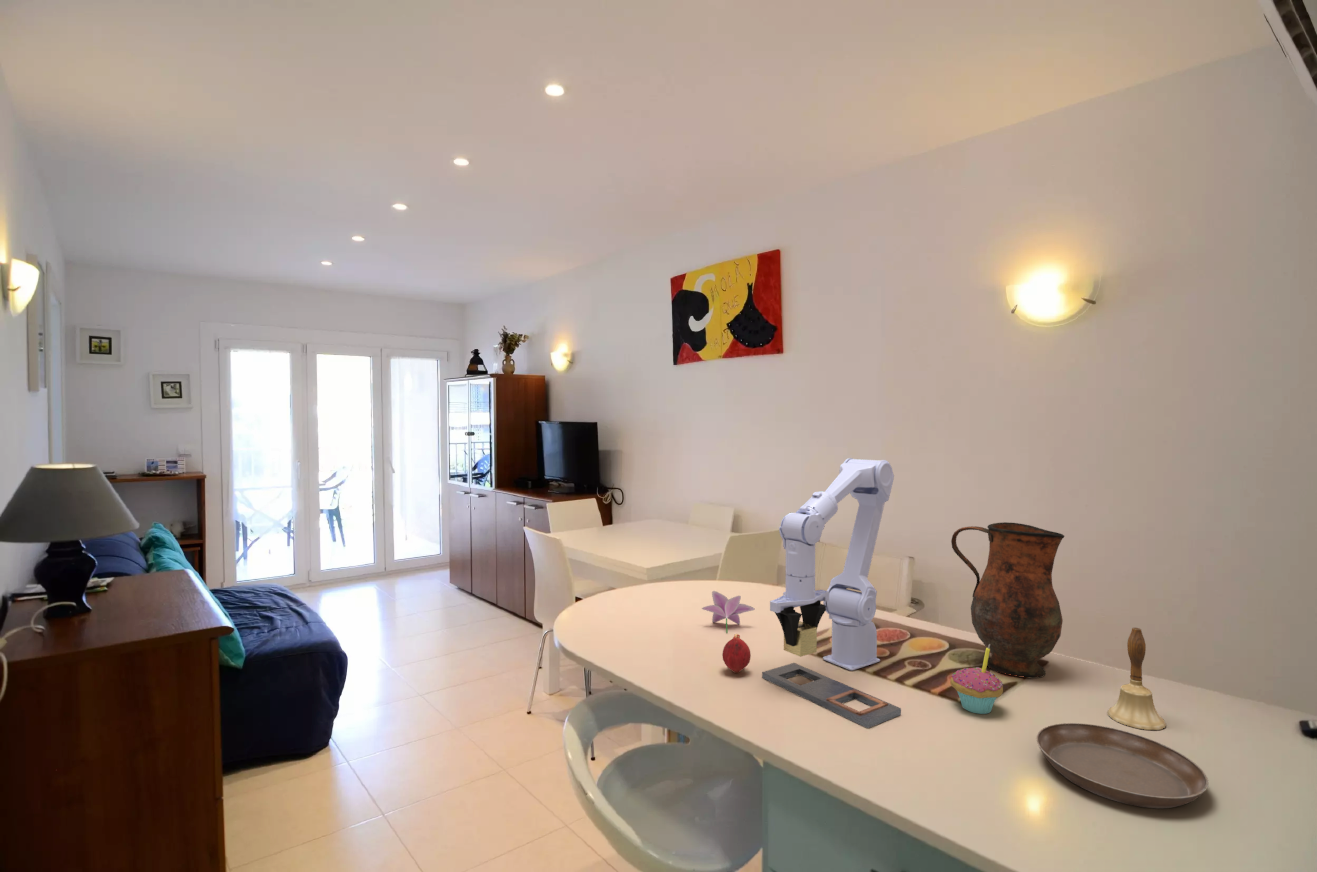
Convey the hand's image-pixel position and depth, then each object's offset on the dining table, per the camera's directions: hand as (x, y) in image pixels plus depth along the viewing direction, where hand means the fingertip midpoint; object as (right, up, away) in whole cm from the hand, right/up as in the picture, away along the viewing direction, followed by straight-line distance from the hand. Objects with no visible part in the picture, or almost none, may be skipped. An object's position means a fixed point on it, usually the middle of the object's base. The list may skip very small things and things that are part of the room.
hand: (800, 642), depth 130 cm
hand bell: (+55, -9, -16) cm, 58 cm away
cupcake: (+29, -9, -11) cm, 33 cm away
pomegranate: (-12, -8, +5) cm, 16 cm away
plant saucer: (+39, -10, -33) cm, 53 cm away
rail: (+4, -8, -6) cm, 11 cm away
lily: (-11, -7, +34) cm, 37 cm away
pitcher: (+45, -8, +9) cm, 46 cm away
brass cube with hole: (0, -2, 0) cm, 2 cm away
